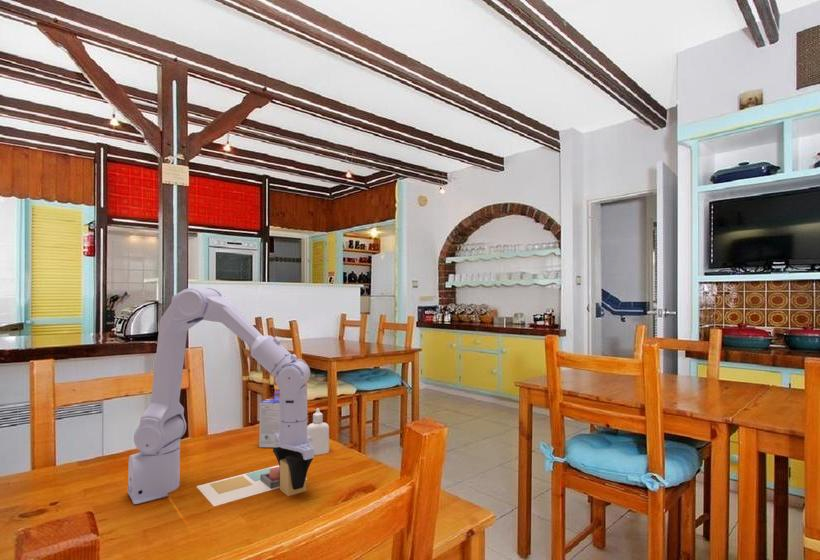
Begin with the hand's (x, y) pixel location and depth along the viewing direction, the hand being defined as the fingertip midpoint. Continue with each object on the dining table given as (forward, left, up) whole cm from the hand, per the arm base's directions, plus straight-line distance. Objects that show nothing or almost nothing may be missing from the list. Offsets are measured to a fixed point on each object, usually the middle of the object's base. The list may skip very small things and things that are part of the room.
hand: (293, 484), depth 97 cm
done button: (-1, +6, -1) cm, 6 cm away
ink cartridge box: (+11, +31, -2) cm, 33 cm away
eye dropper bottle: (+15, +17, -2) cm, 23 cm away
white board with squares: (-5, +9, -2) cm, 10 cm away
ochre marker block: (0, 0, -2) cm, 2 cm away
